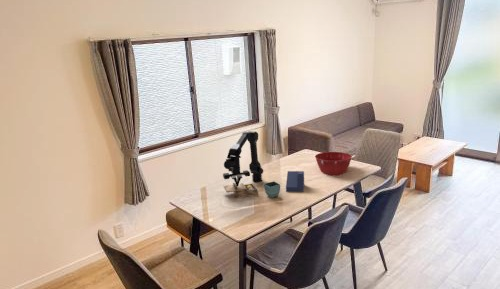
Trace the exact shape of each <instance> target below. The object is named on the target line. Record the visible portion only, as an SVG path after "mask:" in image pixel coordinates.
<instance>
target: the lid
mask: <svg viewBox="0 0 500 289" xmlns="http://www.w3.org/2000/svg"><path fill="white" fill-rule="evenodd" d="M223 188H224V190H225V192H226V193H227V194H229V193H234V192H235V191H245V190H247V188H246V187H245V184H244V183H241V182H240V183H239V185H238V186H236V183H235V182H233V183H232V184H229V185H223Z"/></svg>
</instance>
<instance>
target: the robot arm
mask: <svg viewBox="0 0 500 289" xmlns="http://www.w3.org/2000/svg"><path fill="white" fill-rule="evenodd" d="M247 141H248V143H249V149H250V159H251V162H250V163H249V166H248V167H249V170H246V169H245V170H242V171H241V163H240V158H241V159H242V156H240V155H241V153H242V152H243V151H242V148H243V146H244V145H245V144H246V142H247ZM258 141H259V132H257V131H243V132H242V134H241V136H240V137H239V139H238V141H236V143H235V144H233V145H232V146H231V147H230V148H229V149H228V153H227V157H226V159H225V161H224V163H223V167H224V168H225V169H226V170H227V171H228V172H225V173H222V178H223V179H224V180H230V179H231V180H234V183H235V184H236V186H238V185H239V184H240V183H241V179H243V176H245V177H251V176H252V177H251V178H252V181H253V182H254V183H259V182H263V178H262V177H263V176H262V175H263V173H264V169H263V168H262V165H261V163H260V161H259V157H258V147H257V146H258V145H257V142H258ZM230 172H231V173H230ZM251 174H252V175H251Z"/></svg>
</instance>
